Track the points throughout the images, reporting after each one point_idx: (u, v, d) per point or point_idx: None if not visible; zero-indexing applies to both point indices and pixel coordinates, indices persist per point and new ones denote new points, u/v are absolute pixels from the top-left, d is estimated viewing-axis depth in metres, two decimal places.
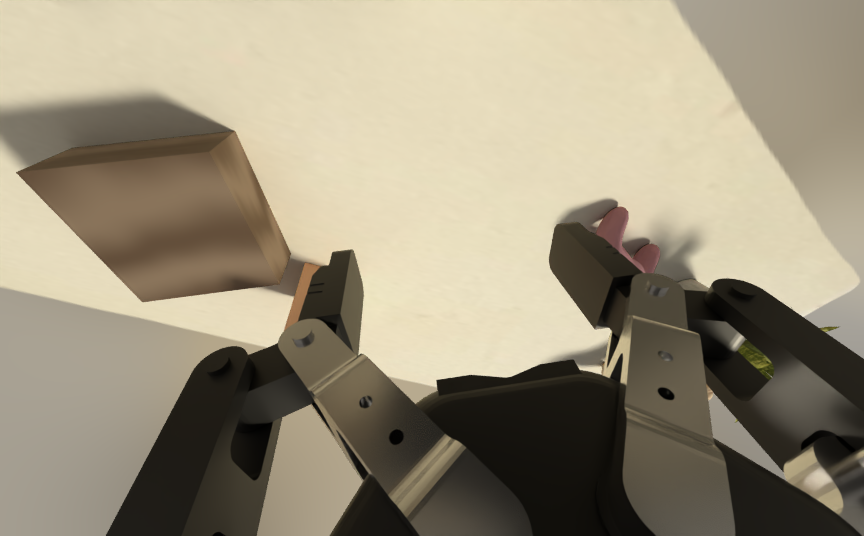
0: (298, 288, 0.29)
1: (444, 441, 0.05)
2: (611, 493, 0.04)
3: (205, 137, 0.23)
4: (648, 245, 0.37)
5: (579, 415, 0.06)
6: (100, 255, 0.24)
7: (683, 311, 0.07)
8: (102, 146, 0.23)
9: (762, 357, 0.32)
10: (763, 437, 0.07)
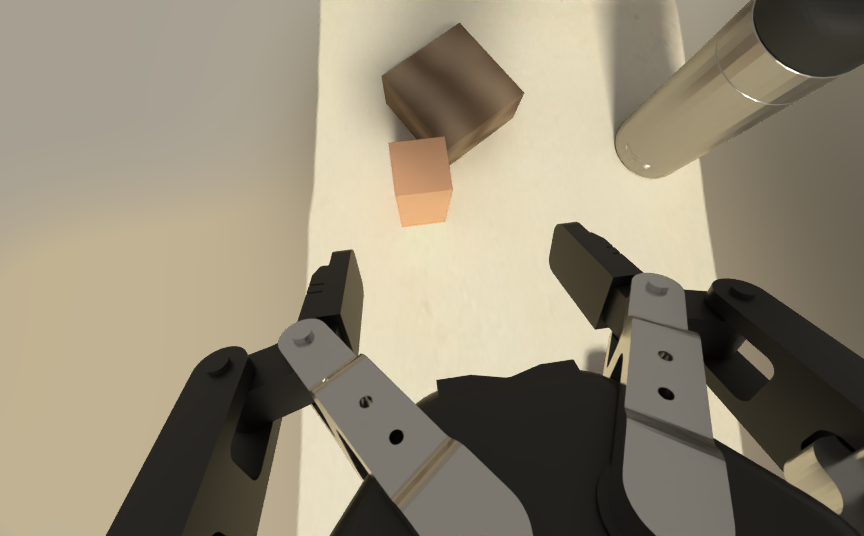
0: None
1: (444, 441, 0.05)
2: (611, 493, 0.04)
3: None
4: None
5: (579, 415, 0.06)
6: (417, 53, 0.37)
7: (683, 311, 0.07)
8: None
9: None
10: (763, 437, 0.07)
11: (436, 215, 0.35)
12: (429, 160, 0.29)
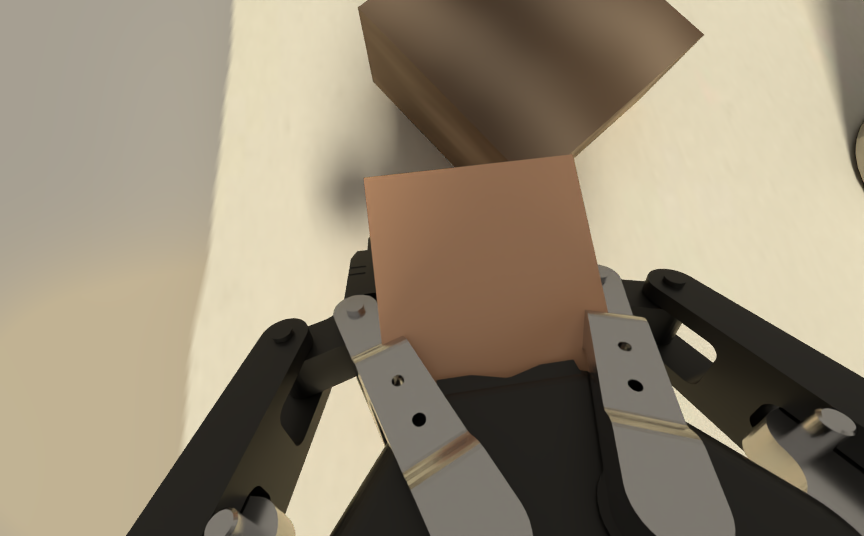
0: None
1: (463, 435, 0.05)
2: (611, 493, 0.04)
3: None
4: None
5: (579, 415, 0.06)
6: None
7: (615, 298, 0.08)
8: None
9: None
10: (715, 415, 0.08)
11: None
12: (521, 246, 0.08)
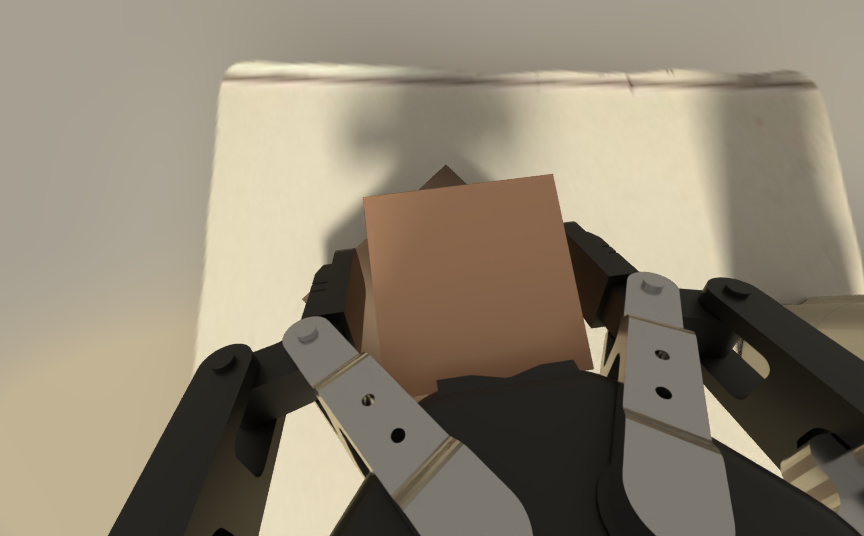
0: None
1: (445, 440, 0.05)
2: (611, 493, 0.04)
3: None
4: None
5: (579, 415, 0.06)
6: None
7: (677, 310, 0.08)
8: None
9: None
10: (759, 435, 0.07)
11: None
12: (506, 259, 0.08)
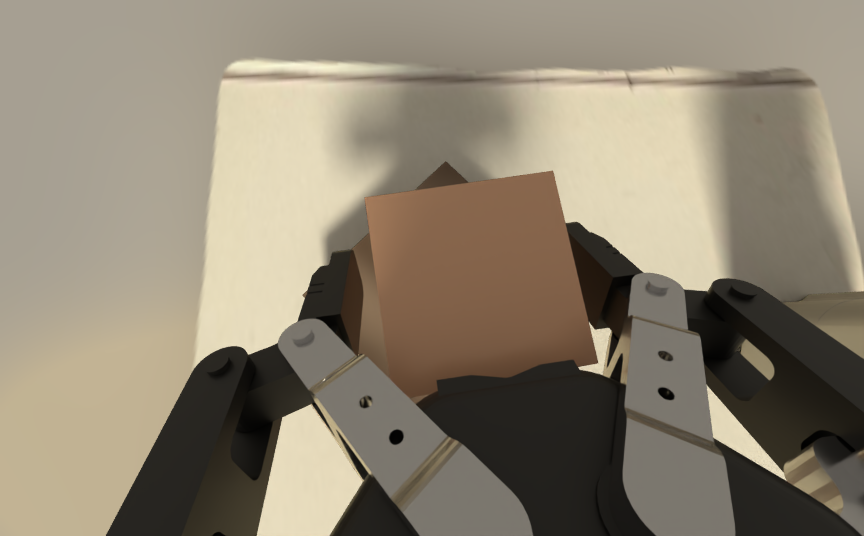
0: None
1: (444, 441, 0.05)
2: (611, 493, 0.04)
3: None
4: None
5: (579, 415, 0.06)
6: None
7: (683, 311, 0.07)
8: None
9: None
10: (763, 437, 0.07)
11: None
12: (509, 256, 0.08)
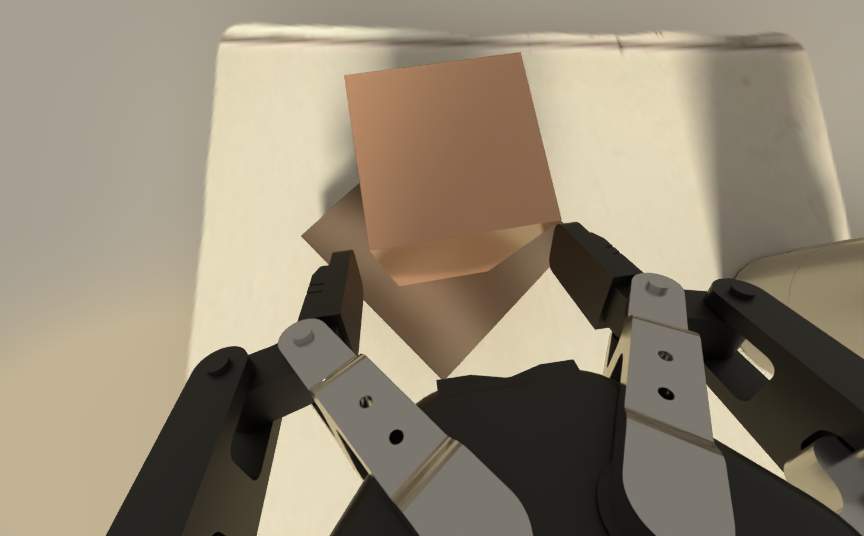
0: None
1: (444, 441, 0.05)
2: (611, 493, 0.04)
3: None
4: None
5: (579, 415, 0.06)
6: None
7: (683, 311, 0.07)
8: None
9: None
10: (763, 437, 0.07)
11: (475, 266, 0.15)
12: (478, 126, 0.09)
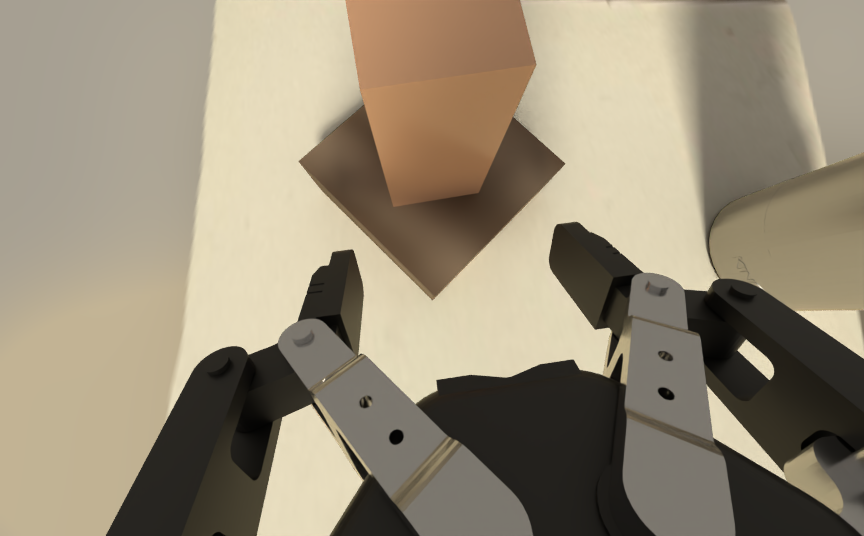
0: None
1: (444, 441, 0.05)
2: (611, 493, 0.04)
3: None
4: None
5: (579, 415, 0.06)
6: (362, 110, 0.20)
7: (683, 311, 0.07)
8: None
9: None
10: (763, 437, 0.07)
11: (464, 173, 0.16)
12: None
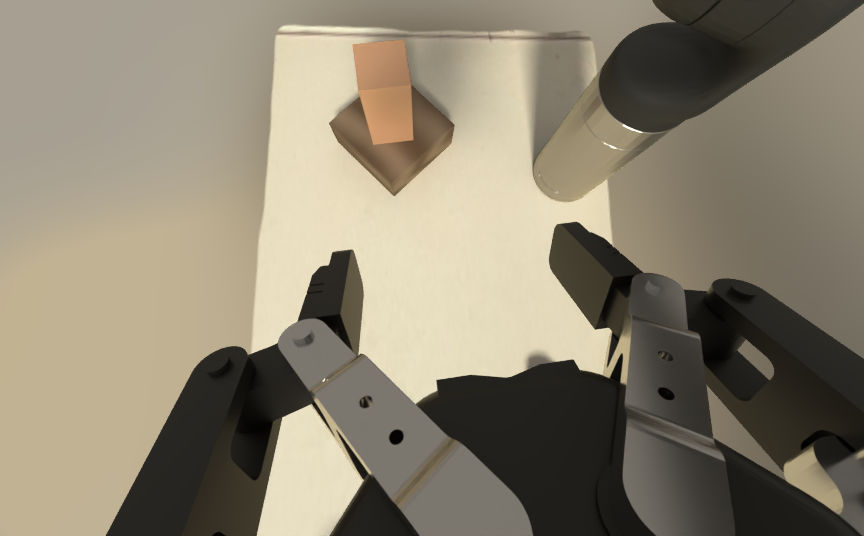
0: None
1: (444, 441, 0.05)
2: (611, 493, 0.04)
3: None
4: None
5: (579, 415, 0.06)
6: (358, 99, 0.42)
7: (683, 311, 0.07)
8: None
9: None
10: (763, 437, 0.07)
11: (402, 127, 0.38)
12: (390, 59, 0.32)
